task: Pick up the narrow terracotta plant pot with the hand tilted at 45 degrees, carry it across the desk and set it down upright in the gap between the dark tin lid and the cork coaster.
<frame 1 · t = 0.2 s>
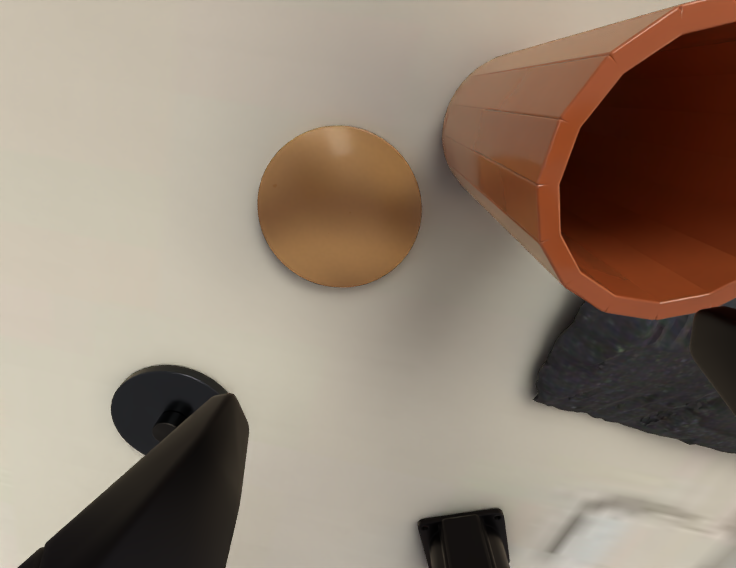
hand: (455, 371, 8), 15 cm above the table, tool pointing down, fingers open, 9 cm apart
pot: (510, 131, 20), on the table
dark slate chunk: (725, 339, 25), on the table
coaster: (340, 210, 22), on the table
lid: (178, 413, 27), on the table
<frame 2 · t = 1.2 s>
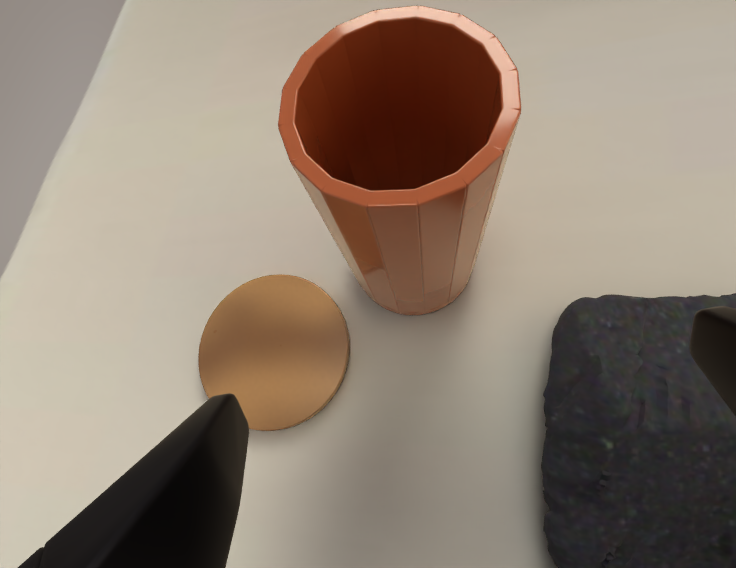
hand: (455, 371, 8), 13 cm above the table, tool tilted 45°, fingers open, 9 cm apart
pot: (413, 258, 23), on the table
coaster: (275, 349, 23), on the table
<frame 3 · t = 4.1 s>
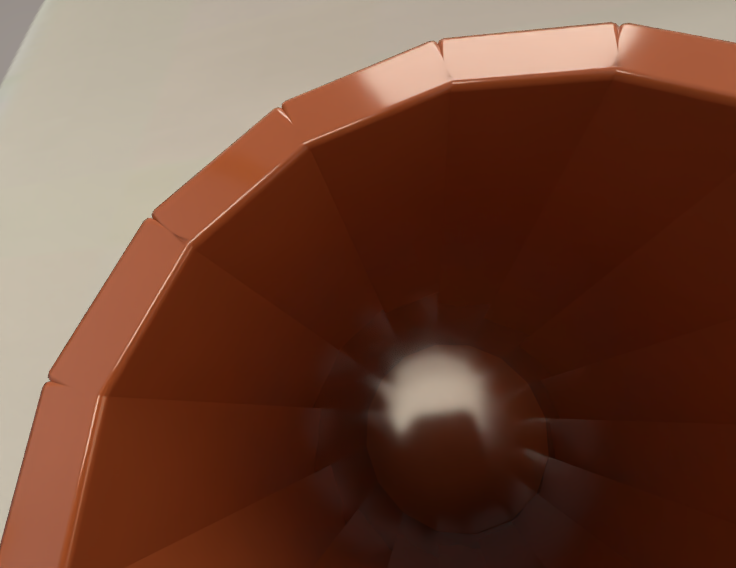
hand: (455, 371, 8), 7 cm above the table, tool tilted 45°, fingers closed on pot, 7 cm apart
pot: (452, 431, 14), on the table, touching gripper
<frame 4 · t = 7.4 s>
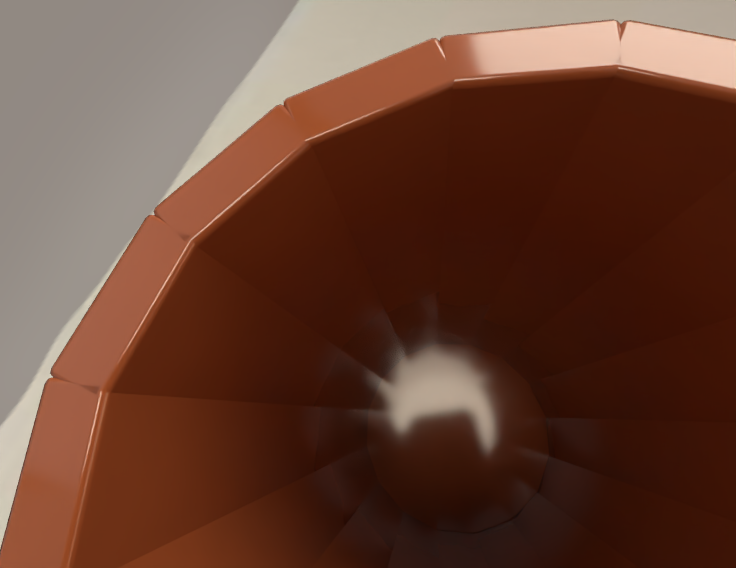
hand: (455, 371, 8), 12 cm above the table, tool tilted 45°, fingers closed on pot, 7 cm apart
pot: (453, 431, 14), point 5 cm above the table, touching gripper
when the fingers open (7 cm above the table, at t = 10.9 s): pot stays where it is, on the table.
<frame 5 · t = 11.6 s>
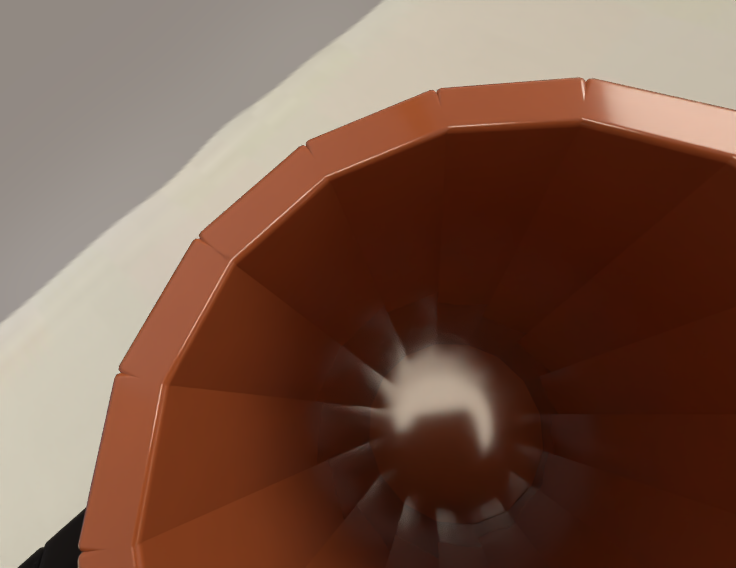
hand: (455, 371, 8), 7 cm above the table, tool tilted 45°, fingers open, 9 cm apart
pot: (451, 427, 14), on the table
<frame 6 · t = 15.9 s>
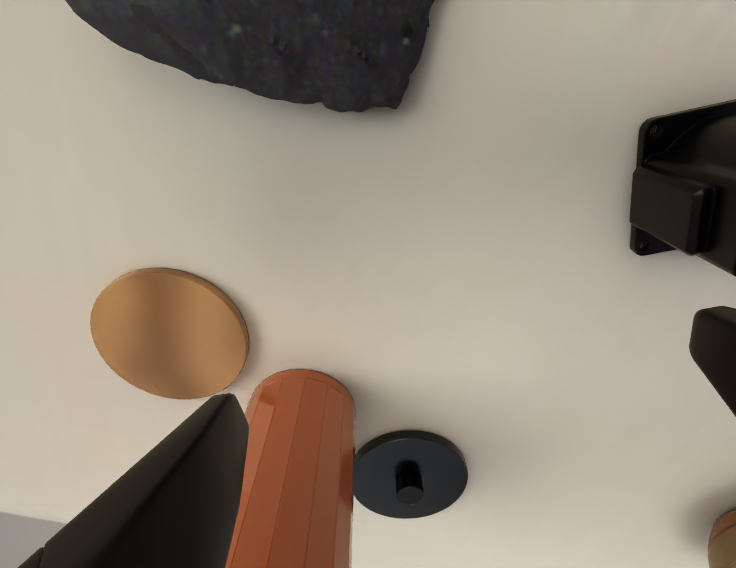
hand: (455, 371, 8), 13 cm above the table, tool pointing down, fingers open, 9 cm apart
pot: (302, 410, 26), on the table
coaster: (174, 335, 23), on the table
lid: (407, 472, 28), on the table
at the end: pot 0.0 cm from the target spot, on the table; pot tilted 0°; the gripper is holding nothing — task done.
